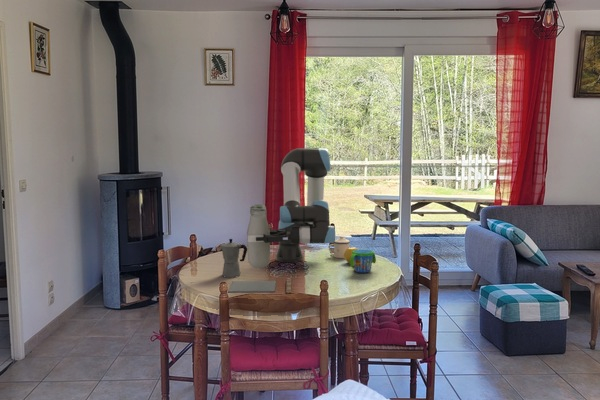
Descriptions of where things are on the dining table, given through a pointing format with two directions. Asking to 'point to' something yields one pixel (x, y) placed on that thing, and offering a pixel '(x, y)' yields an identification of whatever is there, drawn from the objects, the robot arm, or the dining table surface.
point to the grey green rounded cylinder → (258, 226)
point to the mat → (252, 286)
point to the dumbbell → (349, 253)
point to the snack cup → (362, 260)
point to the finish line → (288, 286)
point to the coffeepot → (232, 258)
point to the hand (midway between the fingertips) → (249, 236)
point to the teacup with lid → (340, 247)
